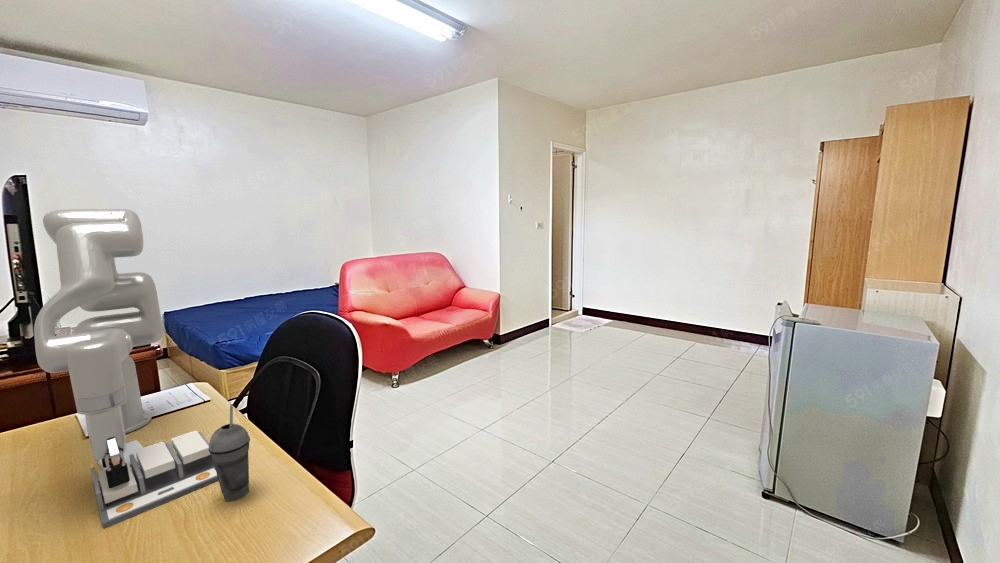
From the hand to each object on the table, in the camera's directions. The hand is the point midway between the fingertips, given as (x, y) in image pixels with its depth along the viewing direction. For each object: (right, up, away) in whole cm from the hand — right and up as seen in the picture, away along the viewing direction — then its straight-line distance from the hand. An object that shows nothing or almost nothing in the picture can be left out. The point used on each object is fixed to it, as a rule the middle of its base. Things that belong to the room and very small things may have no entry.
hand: (116, 474), depth 88 cm
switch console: (+6, -4, +4) cm, 8 cm away
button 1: (0, -3, 0) cm, 3 cm away
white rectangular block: (+5, 0, +5) cm, 7 cm away
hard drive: (-10, -3, +13) cm, 17 cm away
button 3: (+9, +1, +9) cm, 13 cm away
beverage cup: (+26, -4, 0) cm, 26 cm away
